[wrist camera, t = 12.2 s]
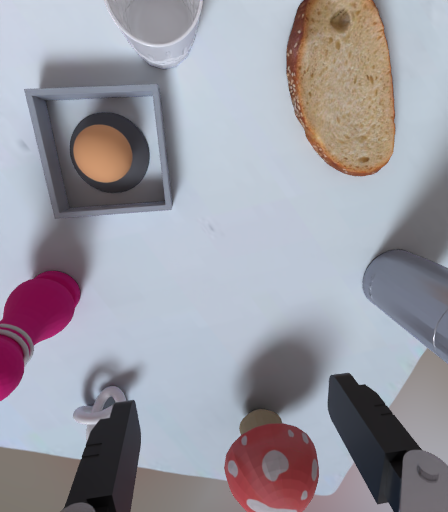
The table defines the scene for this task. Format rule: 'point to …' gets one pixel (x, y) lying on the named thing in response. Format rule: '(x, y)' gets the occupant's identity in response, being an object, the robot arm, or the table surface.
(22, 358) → the pepper mill
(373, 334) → the table surface
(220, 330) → the table surface
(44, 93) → the corral
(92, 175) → the ball
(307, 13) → the slice of bread
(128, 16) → the white cup
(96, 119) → the pad
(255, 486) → the decorative mushroom
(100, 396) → the knot
